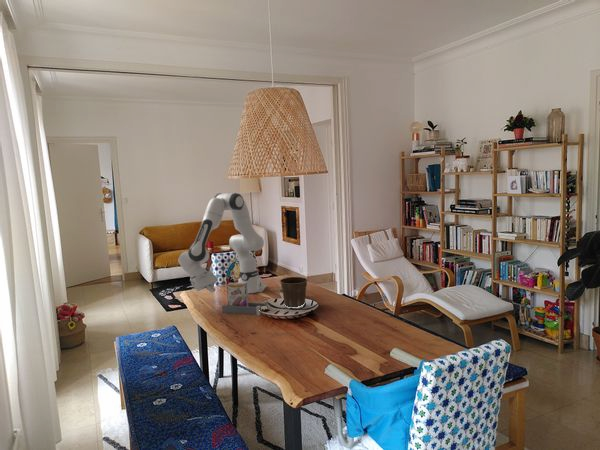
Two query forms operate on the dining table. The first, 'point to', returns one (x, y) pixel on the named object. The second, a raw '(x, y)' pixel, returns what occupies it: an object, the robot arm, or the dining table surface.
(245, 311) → the chute
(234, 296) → the candy bar box
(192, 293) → the dining table surface
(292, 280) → the plant pot
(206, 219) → the robot arm
